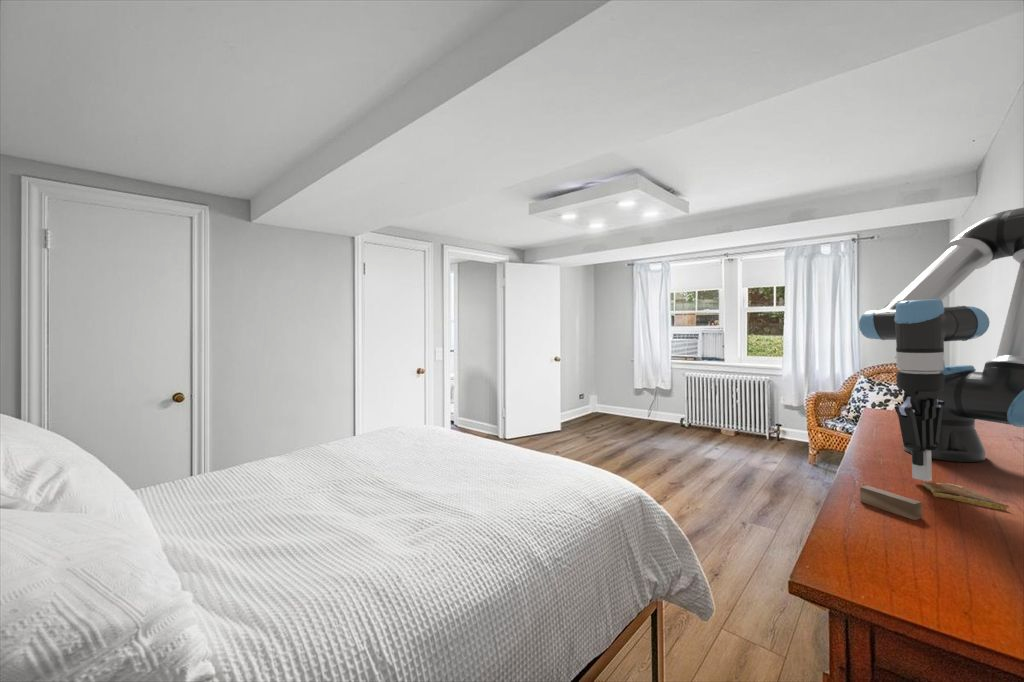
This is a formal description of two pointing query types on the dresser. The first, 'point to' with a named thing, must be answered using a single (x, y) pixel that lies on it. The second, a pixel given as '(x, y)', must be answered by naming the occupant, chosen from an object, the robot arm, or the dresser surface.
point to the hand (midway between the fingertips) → (921, 479)
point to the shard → (963, 495)
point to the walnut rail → (891, 502)
